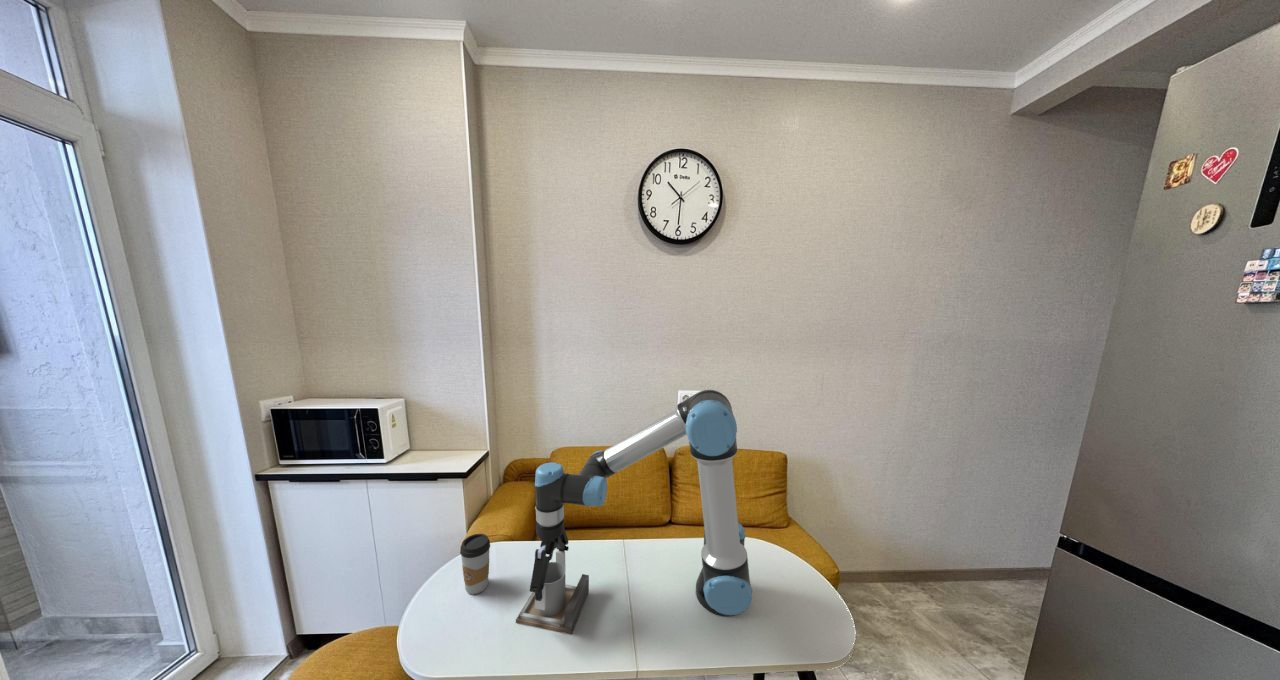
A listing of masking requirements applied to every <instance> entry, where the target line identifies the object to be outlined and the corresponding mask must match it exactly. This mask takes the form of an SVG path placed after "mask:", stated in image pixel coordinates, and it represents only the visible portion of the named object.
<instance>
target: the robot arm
mask: <svg viewBox="0 0 1280 680" xmlns="http://www.w3.org/2000/svg"><path fill="white" fill-rule="evenodd" d="M737 426H738V425H737V421H736V418H735V415H734V413H733V407H732V405H731V402H730V400H729V399H728V397H727V396H726V395H724V394H723V393H722V392H720V391H719V390H716V389H715V390H714V389H704V390H701V391H698V392H697V393H695V394H693V395H691V396H689V397H688V398H687V399H685V400H683V401H681V402H679V403H678V404H677V405H676V407H675V410H672V411H671V412H669V413H668V414H666V415H664V416H662V417H660V418H659V419H657V420H655V421H653V422H651V423H650V424H648V425H647V426H645V427H643V428H641V429H639V430H637V431H636V432H633V434H632V433H631V435H630V436H627V437H626V438H623V439H622V440H619V442H617V443H614V444H612V445H611V446H609V447H608V448H606V449H603V450H597V451H595V452H593V453H592V454H591V455H590V456H589V457H588V459H587V460H586V462H585V464H584V466H583V467H582V468H581V470H580V472H579V473H578V474H576V473H566V472H564V471H565V470H564V467H563V465H562V464H560V463H558V462H552V461H551V462H545V463H542V464H540V465H539V466H538V467H537V468H536V470H535V478H534V479H535V481H534V486H535V487H534V488H535V507H534V510H535V516H536V517H535V520H536V521H535V526H536V527H535V528H536V529H535V530H536V531H535V533H536V536H537V537H538V538H539V539H540V541H541V543H540V545H539V546H540V548H539V549H538V548H536V549H535V552H534V563H533V569H532V575H531V580H530V586H529V592H531V593H532V592H535V609H541V610H545V609H546V591H545V586H544V583H545V578H546V574H547V570H548V565H549V562H551V560H553V555H554V551H555V550H556V551H555V562H558V563H560V564H562V565H563V566H564V567H565V568H566V552H567V551H569V546H568V544H569V539H568V536H567V532H566V529H565V521H564V520H565V518H564V517H565V510H564V509H565V507H564V506H565V505H564V504H571V505H578V506H586V507H601V506H603V505H604V504H605V502H606V500H607V495H608V485H609V484H608V481H607V479H608V478H610V477H612V476H613V475H615V474H617V473H618V472H620V471H622V470H624V469H625V468H628V467H630V466H631V465H633V464H635V463H637V462H639V461H641V460H642V459H645V458H646V457H648V456H650V455H652V454H653V453H656V452H657V451H659V450H661V449H663V448H665V447H667V446H669V445H671V444H672V443H674V442H676V441H678V440H680V439H681V438H683V437H685V436H687V439H688V443H689V444H688V445H689V452H690V456H691V457H692V458H693V459H695V460H696V461H697V471H698V478H699V479H698V480H699V488H700V497H701V498H700V499H701V508H702V509H701V510H702V517H703V527H704V529H703V546H702V549H701V555H700V556H701V563H702V568H701V570H700V572H699V575H698V577H697V580H696V582H695V596H696V598H697V601H698V602H699V604H700V605H701V606H702V607H703V608H705V610H707V611H709V612H711V613H712V614H715V615H718V616H722V617H730V616H731V617H732V616H736V615H739V614H743V612H744V611H745V610H748V608H749V607H750V606H751V604H752V600H753V588H752V585H751V580H750V579H751V578H750V570H749V560H748V551H747V549H746V547H745V541H746V533H745V532H746V531H745V527H744V526H743V525H742V524H741V523H739V520H738V519H739V518H738V517H739V516H738V511H737V510H738V508H737V500H736V499H737V498H736V488H735V487H736V486H735V479H734V478H735V477H734V469H733V468H734V467H733V466H734V465H733V458H734V457H735V456H736V455H737V453H738V444H737V443H738V442H737V433H738V427H737ZM547 555H548V556H547Z"/></svg>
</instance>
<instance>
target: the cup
mask: <svg viewBox="0 0 1280 680" xmlns="http://www.w3.org/2000/svg"><path fill="white" fill-rule="evenodd" d="M565 585H566V566H565V567H564V566H563V565H562V564H560V563H558V562H556V561H549V565H548V570H547V574H546V578H545V583H544V586H545V591H546V609H545V610H541V609H536V611H537V612H538V614H539V615H542V616H544V617H552V616H554V615H557V614H559V613H560V612H561V611H562V610H563V609H564V607H565V605H566V590H565Z"/></svg>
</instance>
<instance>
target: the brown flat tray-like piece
mask: <svg viewBox="0 0 1280 680" xmlns="http://www.w3.org/2000/svg"><path fill="white" fill-rule="evenodd" d="M565 590H566V605H565V607H564V609H563V610H562V611H561V612H560V613H559V614H557V615H554V616H552V617H544V616H542V615H539V614H538V612H537V611H536V609H535V592H531V594H530V595H529V597H528V599H527V600H526V602H525V603H524V605H523V607H522V608H521V610H520V612H519V613H518V615H517V617H516V619H515V624H519V625H523V626H530V627H534V628H538V629H543V630H548V631H553V632H558V633H563V634H567V635H568V634H569V635H572V634H573V631H574V630H575V626H576V625H577V623H578V620H579V617H580V615H581V613H582V610H583V608H584V607H585V603H586V601H587V599H588V597H589V593H590V575H589V574H584V573H582V574H581V577H580V579H579V581H578V583H577V585H571V584H565Z"/></svg>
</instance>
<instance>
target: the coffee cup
mask: <svg viewBox="0 0 1280 680" xmlns="http://www.w3.org/2000/svg"><path fill="white" fill-rule="evenodd" d="M490 548H491V542H490V539H489V537H488V535H487V534H485V533H474V534H472V535H469V536H467V537H466V538H465V539H463V541H462V542H461V545H460V550H459V553H460V555H461V563H462V564H461V566H462V574H463V582H464V589H465V591H466V593H467V594H469V595H477V594H480V593H482V592H483V591H484V590H486V588H487V587H488V584H489V574H490Z"/></svg>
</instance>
